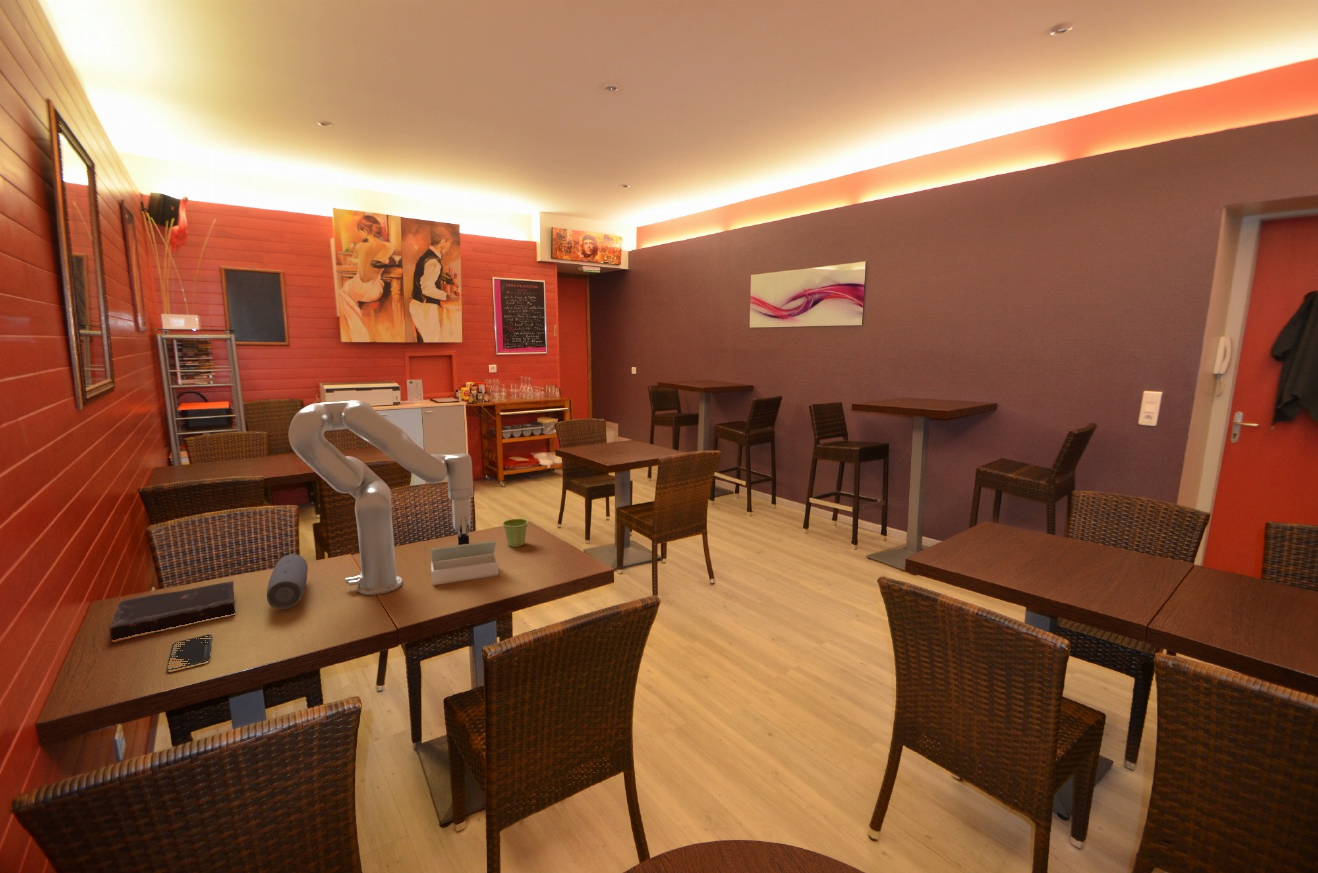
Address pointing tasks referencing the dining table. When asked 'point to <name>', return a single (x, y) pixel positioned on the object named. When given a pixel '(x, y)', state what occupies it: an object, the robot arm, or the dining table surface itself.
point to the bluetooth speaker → (287, 582)
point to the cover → (462, 551)
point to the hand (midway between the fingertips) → (463, 547)
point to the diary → (172, 609)
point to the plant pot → (515, 531)
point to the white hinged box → (464, 569)
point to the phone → (192, 651)
